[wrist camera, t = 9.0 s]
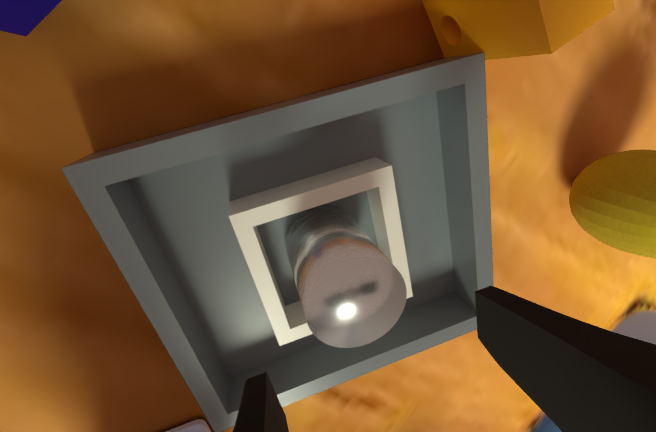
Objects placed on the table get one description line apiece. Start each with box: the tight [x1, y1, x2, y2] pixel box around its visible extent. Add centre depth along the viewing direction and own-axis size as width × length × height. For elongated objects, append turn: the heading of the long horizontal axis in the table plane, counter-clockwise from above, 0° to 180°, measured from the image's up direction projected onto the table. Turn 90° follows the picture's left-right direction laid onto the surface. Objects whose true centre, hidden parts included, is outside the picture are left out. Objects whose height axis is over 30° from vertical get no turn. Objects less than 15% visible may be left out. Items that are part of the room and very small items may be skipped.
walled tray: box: [61, 53, 493, 432], centre depth 17 cm, size 15×17×3 cm
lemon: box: [569, 150, 656, 258], centre depth 18 cm, size 6×6×8 cm
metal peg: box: [285, 204, 407, 348], centre depth 15 cm, size 4×4×6 cm
